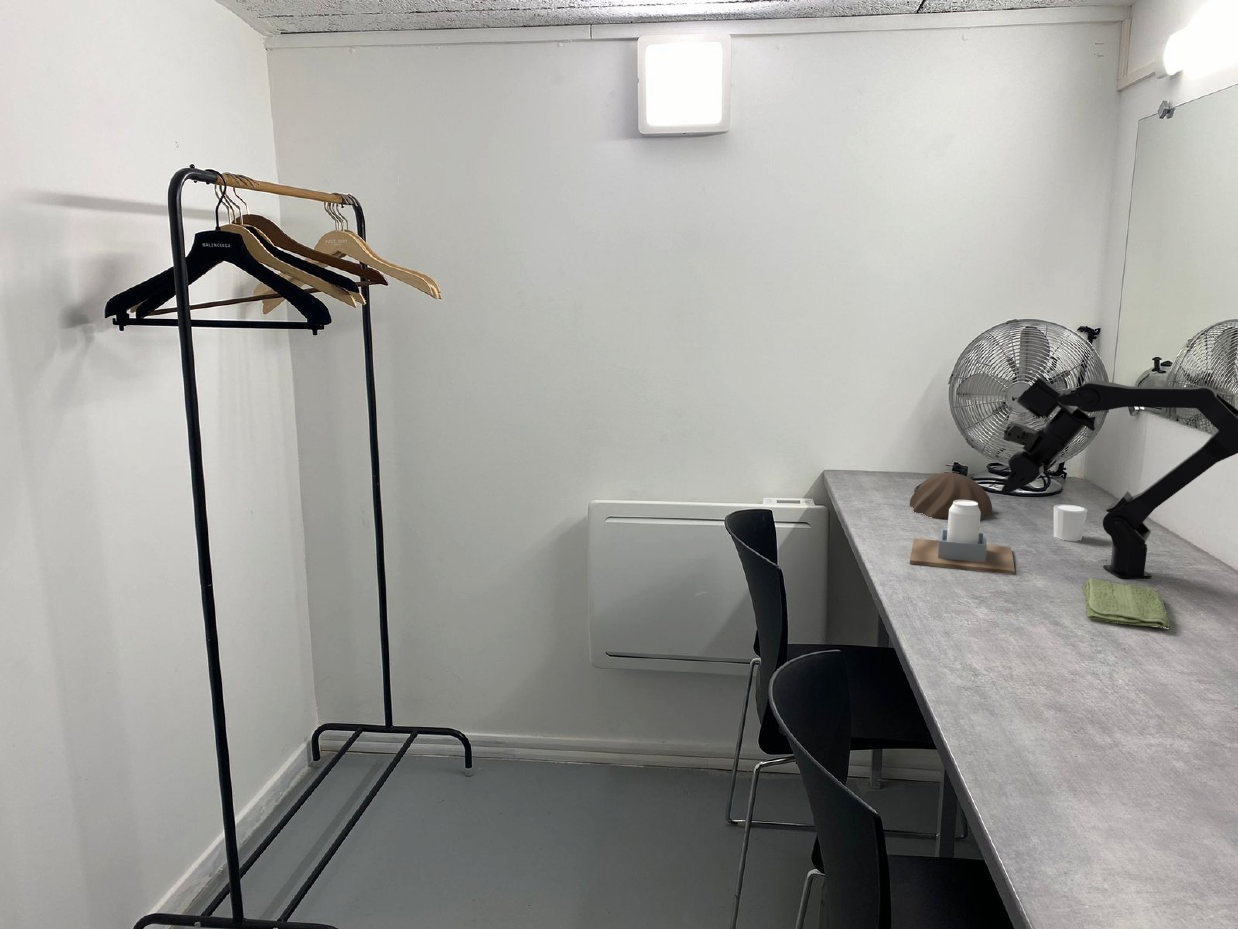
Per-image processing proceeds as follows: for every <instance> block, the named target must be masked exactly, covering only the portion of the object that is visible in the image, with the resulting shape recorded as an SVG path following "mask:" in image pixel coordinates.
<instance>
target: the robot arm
mask: <svg viewBox="0 0 1238 929" xmlns="http://www.w3.org/2000/svg"><path fill="white" fill-rule="evenodd" d="M1016 403H1017V404H1018V405H1019V406H1021V407H1022V408H1024V409H1025V410H1026V411H1028V412H1029V413H1030V414H1032V415H1033V416H1034V417H1036V418H1037V419H1038V420H1040V419H1041V418H1042V419H1043V418H1045V419H1049V418H1050V417H1051V416H1052V415H1053V413H1055V411H1056V410H1057V409H1058V408H1060V409H1059V410H1058V411H1057V412H1056V414H1055V415H1054V416H1052V418H1051V419H1050V420H1049V421H1048V423H1047V424H1046V425H1045V426H1043V427H1042V428H1040V429H1038V430H1037V429H1035V428H1032V427H1029V426H1026V425H1023V424H1019V423H1017V422H1010V423H1009V424H1007V426H1006V428H1005V430H1004V431H1003V437H1002V440H1004V441H1006V442H1012V443H1015V444H1018V445H1022V446H1023V447H1022V450H1024V451H1017V452H1016V453H1014V454H1013V455H1012V456H1011V457H1010V459H1008V461H1007V463H1008V466H1009V469H1010V473H1009V474H1008V477H1007V478H1006V481H1005V482H1004V484H1003V486H1002V488H1001V491H1000V493H1001V494H1002V495H1003V496H1006V495H1008V494H1010V493H1012V492H1014V491H1016V490H1019V489H1021V488H1022V487H1025V486H1027V485H1029V484H1031V483H1034V482H1035V481H1036V480H1037V479H1038V478H1039V477H1040V476H1042V474H1043V473H1045V472H1047V471H1048V470H1050V469H1051V468H1052V467H1054V466H1055V465H1056V464H1057V463H1058V462H1059V460H1060V459H1061V457H1060V455H1061V453H1062V452H1063V451H1064V450H1065V449H1067V448H1068V447H1069V446H1070V444H1071V443H1072V442H1073V440H1074V439H1075V438H1077V436H1078V434H1080V433H1081V432H1082V430H1083V429H1084V428H1086V427H1087V429H1088V430H1090V431H1092V432H1094V431H1096V430H1097V429H1098V427H1099V425H1098V421H1097V420H1098V415H1089V414H1087V413H1096V412H1103V411H1110V410H1114V409H1115V410H1116V409H1122V408H1131V407H1132V408H1165V409H1166V408H1168V409H1169V408H1170V409H1171V408H1172V409H1181V408H1182V409H1197V410H1198V411H1199V412H1200V413H1201V414H1202V416H1204V418H1206V420H1208V421H1209V423H1211V425H1212V426H1213V427H1215V429H1216V431H1215V432H1214V433H1213V434H1212V435H1211V436H1210V437H1209V439H1208V440H1207V441H1205V443H1204V444H1203V445H1202V446H1201V447H1200V448H1198V449H1197V450H1195V451H1194V452H1193V453H1192V454H1191V455H1189V456H1188V457H1186V458H1185V459H1184V460H1183V461H1181V462H1180V463H1179V464H1177V465H1176V466H1175V467H1173V468H1172V469H1170V471H1168V472H1167V473H1166V474H1165V475H1163V476H1162V477H1161V478H1159V479H1158V480H1157V481H1155V482H1153V484H1151V485H1150V486H1149V487H1148V488H1146V489H1145V490H1144V491H1142V492H1140V493H1138V494H1136V495H1131V493H1130V492H1129V491H1126V493H1125V494H1124V495H1123V496H1122V497H1121V498H1120V499H1118V500H1117V501H1114V502H1111V504H1109V506H1108V507H1107V509H1106V512H1107V513H1106V514H1105V516H1104V517H1103V519H1102V528H1103V529H1104V531H1105V532H1106V534H1107V535H1109V536H1110V537H1111V542H1112V550H1111V558H1110V564H1104V565H1102V568H1103V569H1104V570H1106V571H1108V572H1109V573H1111V575H1114V576H1116V577H1117V578H1120V579H1139V578H1140V579H1143V578H1144V579H1145V578H1147V579H1149V578H1152V574H1151V573H1149V572H1147V571H1146V564H1147V562H1146V561H1147V554H1148V545H1147V544H1146V542H1147V541H1148V538H1149V537H1150V535H1151V533H1152V531H1151V530H1150V528H1149V527H1148V526H1147V525H1146V524H1145V523H1144V522H1145V521H1146V519H1148V517H1149V516H1150V515H1151V513H1152V512H1153V511H1155V510H1156V509H1157V508H1158V507H1159V506H1160V505H1162V504H1164V503H1165V502H1166V501H1167V500H1169V499H1171V497H1173V496H1174V495H1176V493H1178V492H1179V491H1181V490H1183V489H1184V488H1185V487H1186V486H1187V485H1189V484H1191V482H1193V481H1194V480H1196V479H1197V478H1198V477H1200V476H1201V475H1203V474H1204V473H1205V472H1207V470H1209V469H1210V468H1212V467H1213V466H1214V465H1216V464H1217V463H1219V462H1221V461H1224V460H1227V459H1228V458H1230V457H1233V456H1235V455H1237V454H1238V409H1237V408H1236V407H1235V406H1234V405H1233V404H1232V403H1230V402H1229V401H1227V400H1226V399H1225V398H1224V397H1222V396H1221V395H1220V394H1219V393H1217V391H1216V390H1215V389H1214V388H1213V387H1211V386H1208V385H1202V386H1131V385H1130V386H1129V385H1126V384H1125V385H1124V384H1121V383H1120V384H1119V383H1115V382H1109V381H1104V380H1098V379H1094V380H1089V381H1086V382H1085V383H1082V384H1081V385H1080V386H1079V387H1078V388H1076V389H1074V390H1069V389H1068V390H1067V391H1065V392H1061V391H1059V390H1058V389H1057V388H1056V387H1054V386H1053V385H1051V384H1050V383H1049V382H1048V381H1047V380H1046V379H1045V378H1043V377H1041V376H1040V377H1038V378H1037V379H1036V380H1035V381H1034V382H1033V383H1032V384H1031V385H1030V386H1029V387H1028V388H1027V389H1025V390H1024V391H1023V393H1022V394H1021V395H1020V396H1019V397H1018V399H1017V400H1016ZM1072 407H1077V408H1076V409H1074V408H1072Z"/></svg>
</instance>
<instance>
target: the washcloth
mask: <svg viewBox="0 0 1238 929" xmlns="http://www.w3.org/2000/svg"><path fill="white" fill-rule="evenodd" d="M1082 593H1083V596H1085V597H1084V599H1085V602H1086V601H1087V602H1086V604H1085V609H1086V611H1085V614H1086V615H1085V617H1086V618H1088V619H1089V620H1090V621H1092V620H1093V621H1095V620H1098V621H1097V622H1103V621H1108V622H1107V623H1111V622H1116V623H1115V624H1119V623H1123V624H1122V625H1126V624H1129V625H1131V626H1142V627H1147V626H1158V627H1162V628H1163V627H1166V628H1169V626H1170V627H1171V622H1170V620H1169V617H1168V615H1167V614H1168V611H1167V610H1166V609H1167V608H1166V607H1165V605H1164V604H1165V603H1164V601H1163V597H1162V595H1161V594H1160V592H1159V590H1157V589H1156V588H1153V587H1147V586H1141V585H1139V586H1138V585H1133V584H1121V583H1115V582H1111V581H1108V580H1101V579H1095V578H1088V580H1086V581H1085V584H1084V585H1083V587H1082ZM1099 620H1100V621H1099ZM1117 622H1118V623H1117ZM1129 625H1128V626H1129ZM1169 629H1170V628H1169Z"/></svg>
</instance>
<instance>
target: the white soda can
mask: <svg viewBox="0 0 1238 929" xmlns="http://www.w3.org/2000/svg"><path fill="white" fill-rule="evenodd" d="M980 515H981V512H980V509H979V507H978V503H977V502H974V501H970V500H955V501H953V504H952V506H951V507H950V509H949V518H948V520H947V530H948V532H947V541H954V542H965V543H976V544H978V540H979V532H980V527H981V524H980V523H981V520H980Z"/></svg>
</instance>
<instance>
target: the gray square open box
mask: <svg viewBox="0 0 1238 929" xmlns="http://www.w3.org/2000/svg"><path fill="white" fill-rule="evenodd" d="M947 532H948V528H947V529H946V528H940V529H939V538H938V541H939V550H938V558H944V559H954V560H964V561H975V562H985V560H986V548H987V545H988V542H987V532H980V531H979V540H978V544H976V543H965V542H954V541H947Z"/></svg>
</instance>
